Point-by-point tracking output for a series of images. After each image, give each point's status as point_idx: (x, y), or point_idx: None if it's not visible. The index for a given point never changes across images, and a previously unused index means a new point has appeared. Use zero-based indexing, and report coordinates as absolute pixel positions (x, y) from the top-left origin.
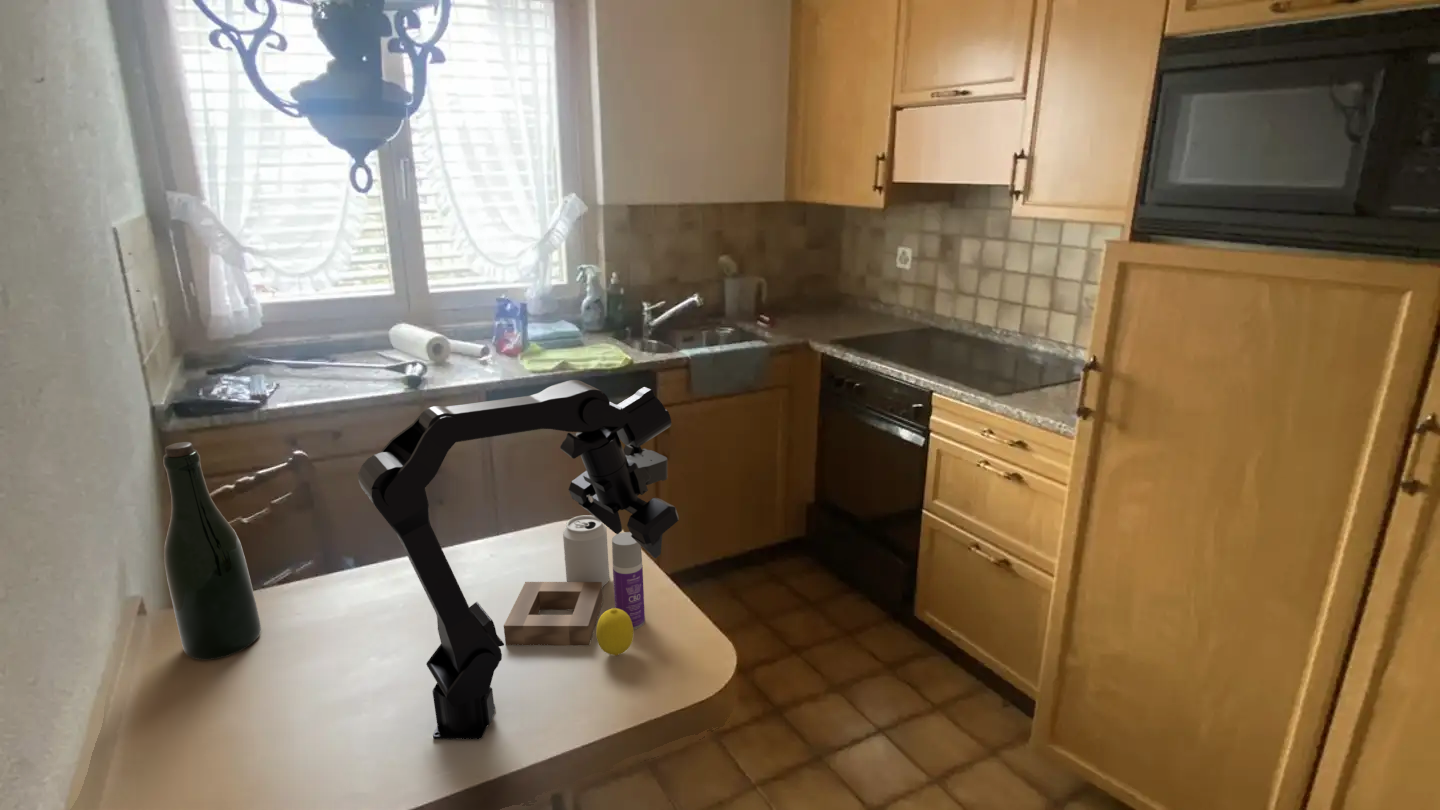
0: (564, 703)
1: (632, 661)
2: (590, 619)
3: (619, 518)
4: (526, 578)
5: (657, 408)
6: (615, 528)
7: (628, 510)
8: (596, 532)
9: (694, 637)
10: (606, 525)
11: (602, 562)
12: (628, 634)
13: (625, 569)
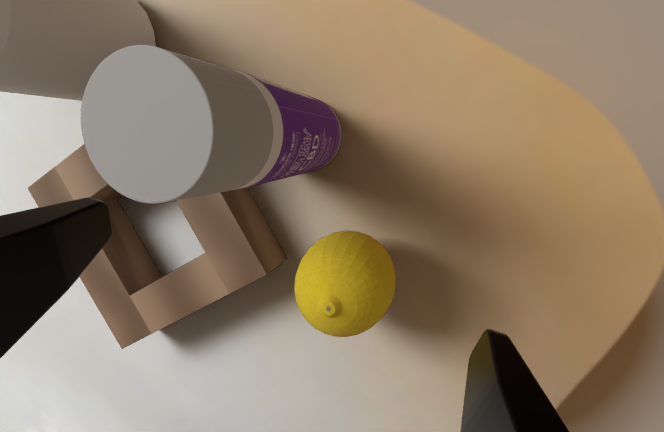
0: (366, 426)
1: (406, 263)
2: (251, 244)
3: (11, 241)
4: (9, 114)
5: None
6: (72, 260)
7: None
8: None
9: (495, 103)
10: (19, 338)
11: (102, 29)
12: (392, 291)
13: (249, 184)
